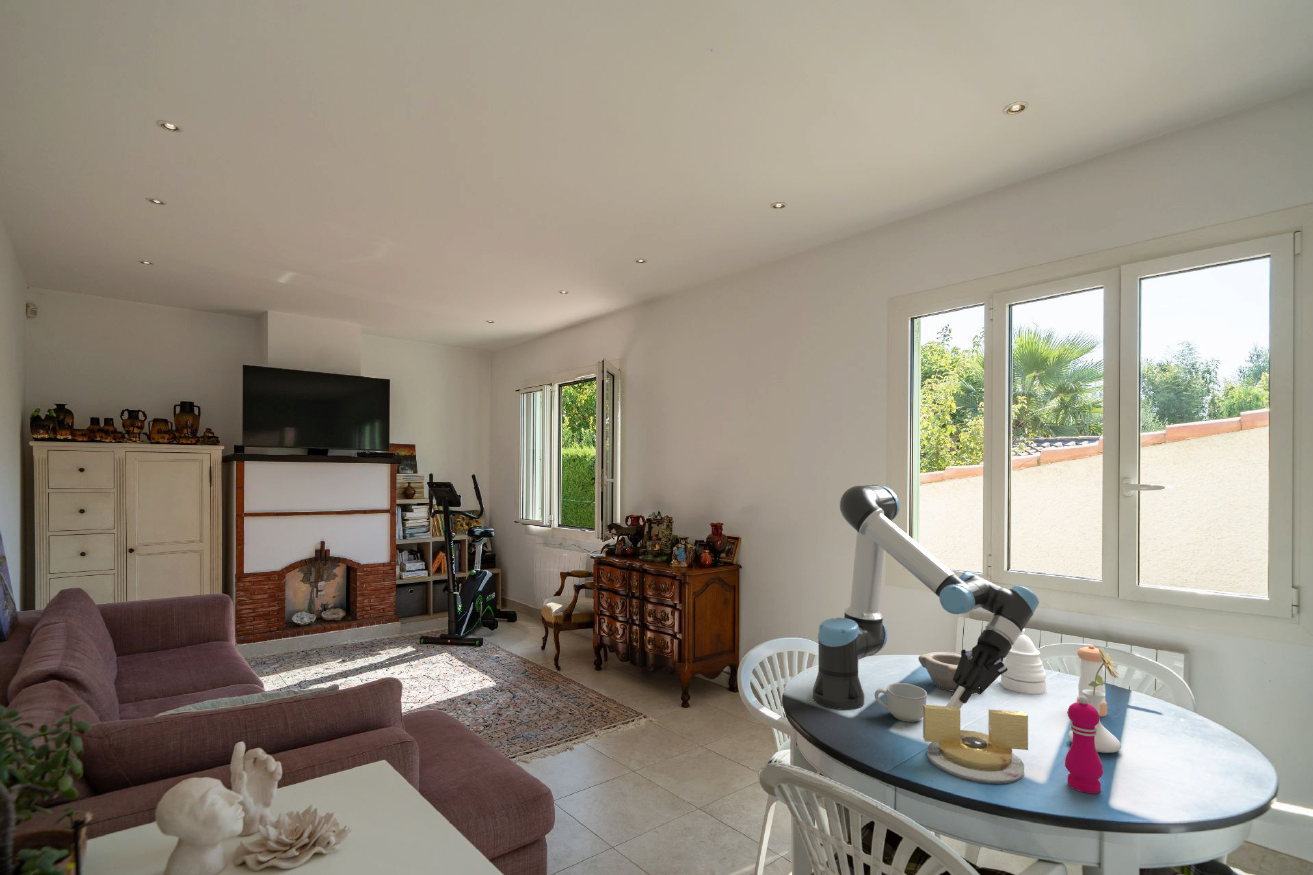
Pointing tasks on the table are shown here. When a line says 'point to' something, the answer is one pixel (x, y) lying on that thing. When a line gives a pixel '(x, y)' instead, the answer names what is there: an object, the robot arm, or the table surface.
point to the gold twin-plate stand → (976, 737)
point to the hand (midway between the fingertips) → (951, 710)
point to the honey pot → (1024, 668)
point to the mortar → (941, 668)
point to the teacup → (903, 701)
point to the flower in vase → (1104, 738)
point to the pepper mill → (1083, 748)
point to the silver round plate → (975, 774)
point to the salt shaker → (1091, 674)
